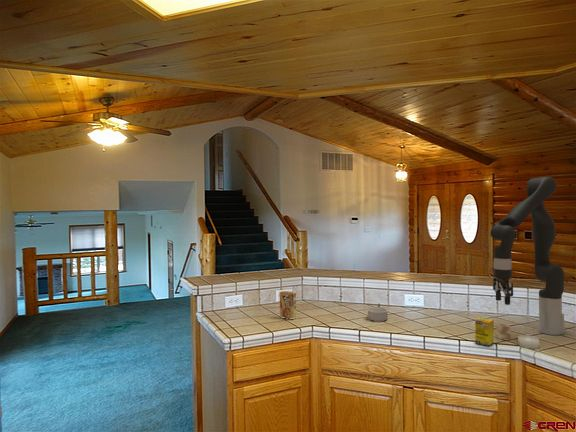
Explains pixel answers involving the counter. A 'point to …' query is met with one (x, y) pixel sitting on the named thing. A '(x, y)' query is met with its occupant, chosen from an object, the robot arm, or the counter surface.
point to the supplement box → (484, 331)
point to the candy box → (288, 304)
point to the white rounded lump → (528, 341)
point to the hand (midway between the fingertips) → (502, 302)
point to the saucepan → (377, 313)
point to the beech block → (503, 331)
